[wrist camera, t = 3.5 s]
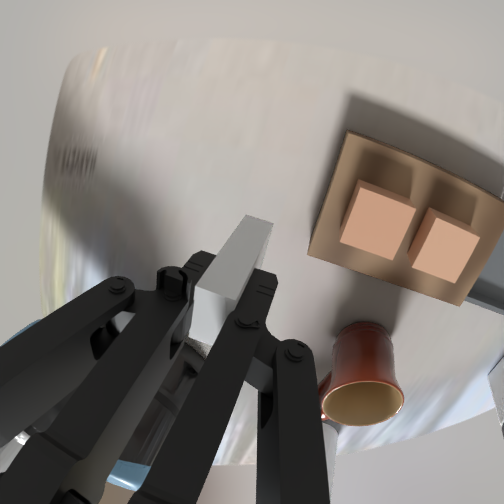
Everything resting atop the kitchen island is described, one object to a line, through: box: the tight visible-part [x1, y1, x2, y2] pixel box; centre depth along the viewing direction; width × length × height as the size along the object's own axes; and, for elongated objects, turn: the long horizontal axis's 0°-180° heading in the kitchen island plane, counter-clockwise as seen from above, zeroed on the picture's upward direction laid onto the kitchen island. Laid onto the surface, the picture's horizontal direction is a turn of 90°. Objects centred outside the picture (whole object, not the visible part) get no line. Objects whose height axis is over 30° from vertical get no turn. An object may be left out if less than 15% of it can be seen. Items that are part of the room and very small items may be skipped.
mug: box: [318, 322, 404, 426], centre depth 33 cm, size 12×9×10 cm
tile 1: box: [407, 207, 480, 283], centre depth 24 cm, size 5×5×2 cm
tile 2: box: [340, 179, 416, 260], centre depth 25 cm, size 5×5×2 cm
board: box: [307, 130, 504, 307], centre depth 27 cm, size 18×12×3 cm, turn 78°
